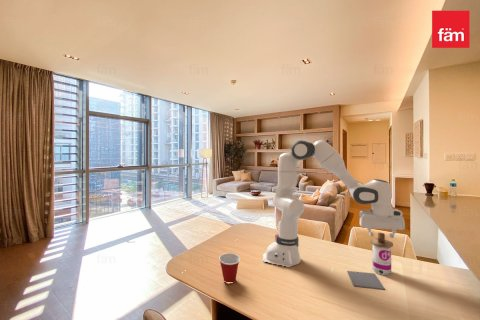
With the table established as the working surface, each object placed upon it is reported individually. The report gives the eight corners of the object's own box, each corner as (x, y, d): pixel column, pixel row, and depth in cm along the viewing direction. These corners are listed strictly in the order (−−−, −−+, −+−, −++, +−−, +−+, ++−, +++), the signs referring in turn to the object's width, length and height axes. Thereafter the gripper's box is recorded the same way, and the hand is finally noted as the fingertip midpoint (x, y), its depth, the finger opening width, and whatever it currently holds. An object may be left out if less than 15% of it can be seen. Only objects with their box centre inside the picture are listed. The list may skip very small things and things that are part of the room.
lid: (374, 246, 109) (374, 236, 109) (367, 239, 119) (367, 229, 119) (396, 248, 107) (396, 237, 107) (388, 240, 117) (387, 230, 117)
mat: (353, 286, 102) (353, 285, 102) (347, 271, 114) (347, 270, 114) (385, 289, 99) (385, 288, 99) (374, 274, 111) (374, 273, 111)
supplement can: (394, 276, 109) (394, 247, 108) (376, 275, 110) (376, 246, 110) (386, 268, 117) (386, 240, 116) (370, 267, 118) (369, 240, 118)
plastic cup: (235, 289, 101) (234, 264, 101) (215, 284, 106) (214, 260, 106) (244, 277, 111) (243, 254, 111) (225, 273, 116) (225, 251, 115)
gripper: (361, 211, 112) (361, 237, 113) (406, 212, 107) (406, 240, 108) (357, 208, 118) (357, 233, 119) (400, 209, 113) (400, 235, 114)
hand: (381, 236), depth 113 cm, fingers open, 8 cm apart
